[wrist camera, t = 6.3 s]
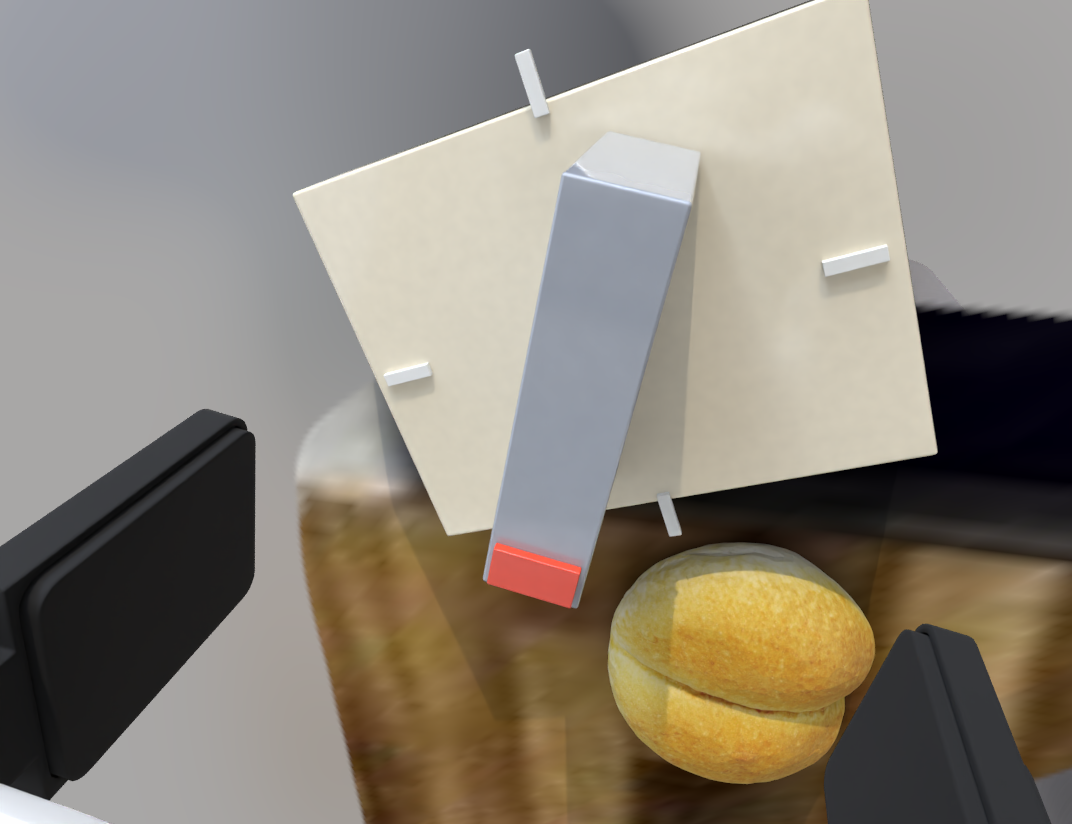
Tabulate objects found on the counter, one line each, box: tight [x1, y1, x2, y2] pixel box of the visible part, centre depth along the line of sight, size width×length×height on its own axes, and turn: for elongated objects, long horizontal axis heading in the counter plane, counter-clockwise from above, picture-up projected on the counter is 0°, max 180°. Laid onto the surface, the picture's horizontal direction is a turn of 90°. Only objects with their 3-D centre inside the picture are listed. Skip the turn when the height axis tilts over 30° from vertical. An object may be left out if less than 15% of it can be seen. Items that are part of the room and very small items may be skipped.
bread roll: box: [608, 542, 875, 784], centre depth 25 cm, size 8×9×4 cm
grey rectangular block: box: [483, 131, 701, 608], centre depth 17 cm, size 9×2×6 cm, turn 169°
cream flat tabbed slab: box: [293, 0, 938, 537], centre depth 20 cm, size 14×13×3 cm
